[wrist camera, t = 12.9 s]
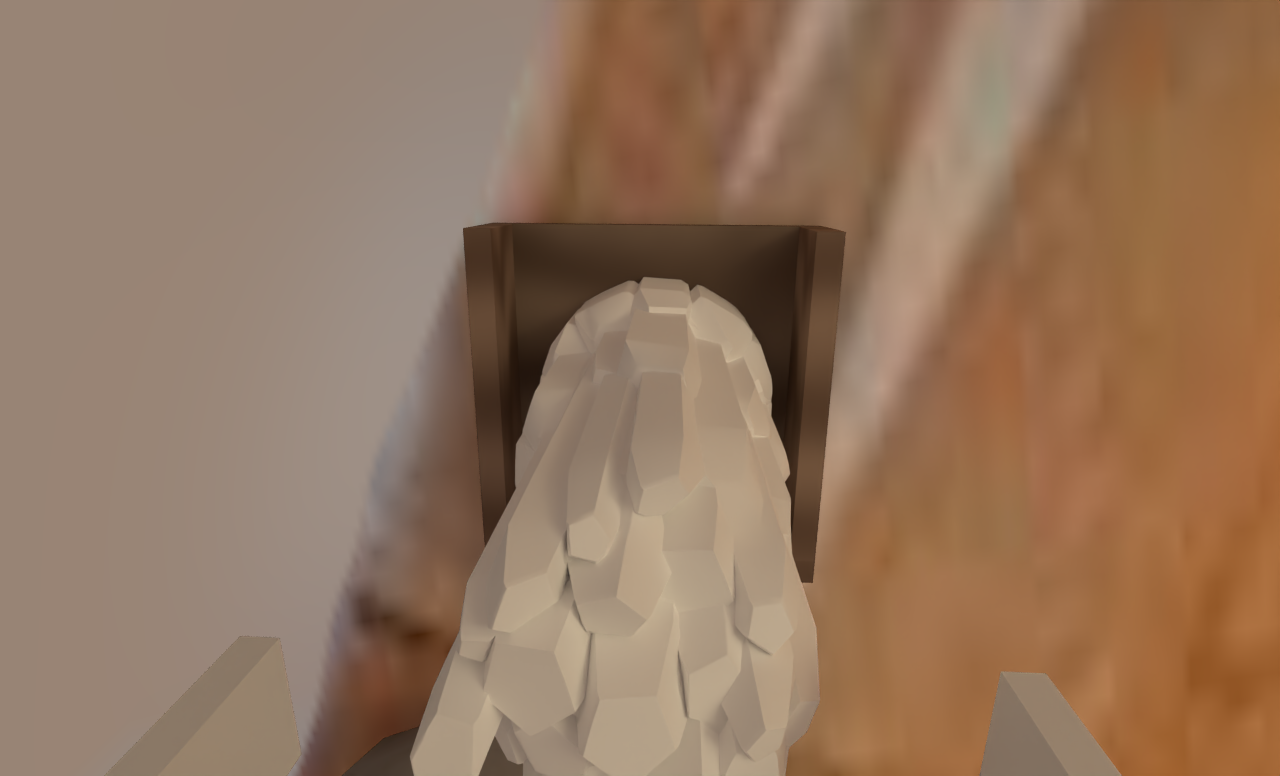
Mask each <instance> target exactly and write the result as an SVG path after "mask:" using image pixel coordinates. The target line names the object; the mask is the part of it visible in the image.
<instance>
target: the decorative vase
mask: <svg viewBox="0 0 1280 776" xmlns="http://www.w3.org/2000/svg"><path fill="white" fill-rule="evenodd" d="M542 373H543V374H542V375H541V379H540V384H539V386H538V387H537V389H536V391H535V393H534V396H533V398H532V401H531V404H530V407H529V410H528V414H527V417H526V421H525V424H524V427H523V431H522V432H523V433H522V435H521V437H520V438H519V440H518V442H517V444H516V457H515V485H516V490H515V491H514V493H513V495H512V497H511V499H510V501H509V503H508V505H507V507H506V509H505V510H504V512H503V514H502V516H501V518H500V520H499V522H498V524H497V526H496V528H495V530H494V532H493V533H492V535H491V537H490V539H489V541H488V543H487V545H486V547H485V549H484V551H483V553H482V554H481V556H480V558H479V560H478V562H477V564H476V566H475V568H474V570H473V572H472V574H471V576H470V578H469V580H468V582H467V585H466V591H465V597H464V602H463V608H462V614H461V622H460V630H459V633H458V635H457V637H456V639H455V641H454V643H453V645H452V647H451V650H450V652H449V654H448V656H447V658H446V660H445V662H444V665H443V667H442V669H441V671H440V673H439V676H438V678H437V680H436V682H435V684H434V687H433V689H432V692H431V695H430V698H429V700H428V703H427V706H426V709H425V712H424V715H423V718H422V721H421V724H420V727H419V730H418V733H417V736H416V739H415V742H414V745H413V748H412V751H411V754H410V760H411V765H412V769H413V774H414V776H479V773H480V771H481V768H482V766H483V763H484V761H485V758H486V756H487V753H488V751H489V748H490V746H491V743H492V741H493V739H494V736H495V737H496V739H497V741H498V743H499V745H500V747H501V749H502V751H503V753H504V754H505V756H506V758H507V760H508V761H511V762H513V763H516V764H522V763H523V776H785V774H786V766H787V757H788V750H789V747H791V746H792V745H793V744H794V743H795V742H796V741H797V740H798V739H800V738H801V737H802V736H803V735H804V734H805V733H806V732H807V730H808V728H809V726H810V723H811V721H812V718H813V716H814V714H815V711H816V709H817V707H818V704H819V702H820V693H819V673H818V652H817V631H816V626H815V623H814V619H813V616H812V613H811V610H810V607H809V604H808V601H807V598H806V595H805V592H804V589H803V586H802V583H801V580H800V577H799V574H798V571H797V568H796V565H795V562H794V558H793V555H792V543H791V498H790V495H789V492H788V490H787V487H786V484H785V481H786V480H787V478H788V477H789V475H790V470H789V464H788V460H787V456H786V452H785V449H784V446H783V444H782V441H781V439H780V436H779V434H778V432H777V429H776V427H775V424H774V422H773V419H772V417H771V410H772V403H771V398H772V379H771V375H770V372H769V369H768V366H767V363H766V360H765V357H764V354H763V351H762V348H761V345H760V343H759V341H758V339H757V338H756V336H755V334H754V332H753V331H752V329H751V328H750V327H749V325H748V323H747V321H746V320H745V318H744V316H743V315H742V314H741V313H740V312H739V311H738V309H737V308H736V307H735V306H733V305H732V304H731V303H729V302H728V301H727V300H725V299H723V298H722V297H720V296H718V295H717V294H715V293H713V292H712V291H710V290H708V289H707V288H705V287H703V286H700V285H696V286H695V287H694V288H693V289H692V290H691V291H690V290H689V286H688V284H687V283H685V282H684V281H682V280H677V279H664V278H651V277H643V279H642V280H641V282H640V283H639V284H638V283H637V282H635V281H626V282H624V283H622V284H619V285H617V286H615V287H613V288H610V289H608V290H606V291H604V292H602V293H600V294H598V295H596V296H594V297H593V298H591V299H589V300H587V301H586V302H585V303H584V304H583V305H582V307H581V308H580V309H578V310H577V311H576V312H575V314H574V315H573V316H572V317H571V319H570V320H569V321H568V322H567V324H566V325H565V327H564V328H563V329H562V331H561V332H560V333H559V335H558V336H557V338H556V339H555V340H554V342H553V343H552V344H551V346H550V349H549V352H548V355H547V358H546V361H545V364H544V367H543V370H542Z"/></svg>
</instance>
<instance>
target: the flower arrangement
mask: <svg viewBox="0 0 1280 776" xmlns="http://www.w3.org/2000/svg"><path fill="white" fill-rule="evenodd" d="M418 730H419V727H417V728H414V729H410V730H407V731H404V732H401V733H398V734H395V735H392V736H389V737H386V738H383V739H382V740H381V741H380V742H379V743H378V744H377V745H376V746H375V747H373V748H372V749H371V750H370V751H369V752H368V753H367V754H366V755H364V756H363V757H362V758H361V759H360V760H359V761H358V762H357V763H355V764H354V765H353V766H352V767H351V768H350V769H349V770H348V771H347V772H345V773H344V774H343V775H342V776H414V774H413V769H412V765H411V760H410V754H411V751H412V748H413V745H414V742H415V739H416V736H417V733H418ZM479 776H523V763H522V764H516V763H513V762H511V761H508V760H507V758H506V756H505V754H504V753H503V751H502V749H501V747H500V745H499V743H498V741H497V739H496V737H495V736H494V739H493V741H492V743H491V746H490V748H489V751H488V753H487V756H486V758H485V761H484V763H483V766H482V768H481V771H480V773H479Z"/></svg>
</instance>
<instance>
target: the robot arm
mask: <svg viewBox="0 0 1280 776" xmlns="http://www.w3.org/2000/svg"><path fill="white" fill-rule="evenodd" d="M300 755H301V748H300V743H299V739H298V733H297V727H296V722H295V717H294V711H293V706H292V701H291V695H290V690H289V685H288V680H287V674H286V669H285V663H284V659H283V653H282V647H281V643H280V638H271V637H249V636H240V637H239V638H238V639H237V640H236V641H235V642H234V643H233V644H232V645H231V646H230V647H229V648H228V649H227V650H226V651H225V652H224V653H223V654H222V655H221V656H220V657H219V658H218V660H217V661H216V662H215V663H214V664H213V665H212V666H211V667H210V668H209V669H208V670H207V671H206V672H205V673H204V674H203V675H202V676H201V677H200V678H199V679H198V680H197V681H196V682H195V683H194V684H193V685H192V686H191V687H190V688H189V689H188V690H187V691H186V692H185V694H184V695H182V696H181V698H180V699H179V700H178V701H177V702H176V703H175V704H174V705H173V706H172V707H171V708H170V709H169V710H168V711H167V712H166V713H165V714H164V715H163V716H162V717H161V718H160V719H159V720H158V721H157V722H156V723H155V724H154V725H153V726H152V727H151V728H150V729H149V731H147V732H146V734H144V736H143V737H142V738H141V739H140V740H139V741H138V742H137V743H136V744H135V745H134V746H133V747H132V748H131V749H130V750H129V751H128V752H127V753H126V754H125V755H124V756H123V757H122V758H121V759H120V760H119V761H118V762H117V763H116V764H115V765H114V766H113V767H112V768H111V769H110V771H108V773H107V774H106V775H105V776H287V775H288V774H289V772H290V771H291V769H292V767H293V766H294V764H295V763H296V761H297V760H298V758H299V757H300ZM980 776H1122V775H1121V774H1120V773H1119V771H1118V770H1117V769H1116V767H1115V766H1114V765H1113V763H1112V762H1111V761H1110V759H1109V758H1108V756H1107V755H1106V754H1105V752H1104V751H1103V750H1102V748H1101V747H1100V746H1099V744H1098V743H1097V742H1096V740H1095V739H1094V738H1093V736H1092V735H1091V734H1090V732H1089V731H1088V730H1087V728H1086V727H1085V725H1084V724H1083V723H1082V721H1081V720H1080V719H1079V717H1078V716H1077V715H1076V713H1075V712H1074V711H1073V709H1072V708H1071V707H1070V705H1069V704H1068V703H1067V701H1066V700H1065V699H1064V697H1063V696H1062V694H1061V693H1060V692H1059V690H1058V689H1057V688H1056V686H1055V685H1054V684H1053V682H1052V681H1051V680H1050V678H1049V677H1048V676H1047V674H1044V673H1023V672H1001V674H1000V679H999V684H998V689H997V694H996V698H995V703H994V708H993V713H992V718H991V723H990V727H989V732H988V737H987V742H986V747H985V752H984V757H983V761H982V766H981V771H980Z"/></svg>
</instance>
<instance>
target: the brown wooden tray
mask: <svg viewBox="0 0 1280 776" xmlns="http://www.w3.org/2000/svg"><path fill="white" fill-rule="evenodd" d="M845 235H846V232H844V231H840V230H835V229H831V228H827V227H823V226H775V225H667V224H558V223H490V224H484V225H479V226H473V227H467V228H463V236H464V250H465V265H466V279H467V294H468V308H469V323H470V337H471V352H472V366H473V381H474V395H475V410H476V424H477V439H478V453H479V468H480V482H481V497H482V511H483V526H484V540H485V547H486V545H487V543H488V541H489V539H490V537H491V535H492V533H493V532H494V530H495V528H496V526H497V524H498V522H499V520H500V518H501V516H502V514H503V512H504V510H505V509H506V507H507V505H508V503H509V501H510V499H511V497H512V495H513V493H514V491H515V490H516V485H515V457H516V444H517V442H518V440H519V438H520V437H521V435H522V433H523V432H522V431H523V427H524V424H525V421H526V417H527V414H528V410H529V407H530V404H531V401H532V398H533V396H534V393H535V391H536V389H537V387H538V386H539V384H540V379H541V375H542V374H543V373H542V370H543V367H544V364H545V361H546V358H547V355H548V352H549V349H550V346H551V344H552V343H553V342H554V340H555V339H556V338H557V336H558V335H559V333H560V332H561V331H562V329H563V328H564V327H565V325H566V324H567V322H568V321H569V320H570V319H571V317H572V316H573V315H574V314H575V312H576V311H577V310H578V309H580V308H581V307H582V305H583V304H584V303H585V302H586V301H587V300H589V299H591V298H593V297H594V296H596V295H598V294H600V293H602V292H604V291H606V290H608V289H610V288H613V287H615V286H617V285H619V284H622V283H624V282H626V281H635V282H637V283H638V284H639V283H640V282H641V280H642V279H643V277H651V278H664V279H677V280H682V281H684V282H685V283H687V284H688V286H689V290H690V291H691V290H692V289H693V288H694V287H695V286H696V285H700V286H703V287H705V288H707V289H708V290H710V291H712V292H713V293H715V294H717V295H718V296H720V297H722V298H723V299H725V300H727V301H728V302H729V303H731V304H732V305H733V306H735V307H736V308H737V309H738V311H739V312H740V313H741V314H742V315H743V316H744V318H745V320H746V321H747V323H748V325H749V327H750V328H751V329H752V331H753V332H754V334H755V336H756V338H757V339H758V341H759V343H760V345H761V348H762V351H763V354H764V357H765V360H766V363H767V366H768V369H769V372H770V375H771V379H772V398H771V403H772V410H771V417H772V419H773V422H774V424H775V427H776V429H777V432H778V434H779V436H780V439H781V441H782V444H783V446H784V449H785V452H786V456H787V460H788V464H789V470H790V475H789V477H788V478H787V480H786V481H785V484H786V487H787V490H788V492H789V495H790V498H791V543H792V555H793V558H794V562H795V565H796V568H797V571H798V574H799V577H800V580H801V582H805V583H813V574H814V563H815V553H816V542H817V532H818V521H819V510H820V500H821V489H822V479H823V468H824V457H825V447H826V436H827V426H828V415H829V404H830V394H831V383H832V373H833V362H834V351H835V341H836V330H837V320H838V309H839V298H840V288H841V277H842V267H843V256H844V245H845Z"/></svg>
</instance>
